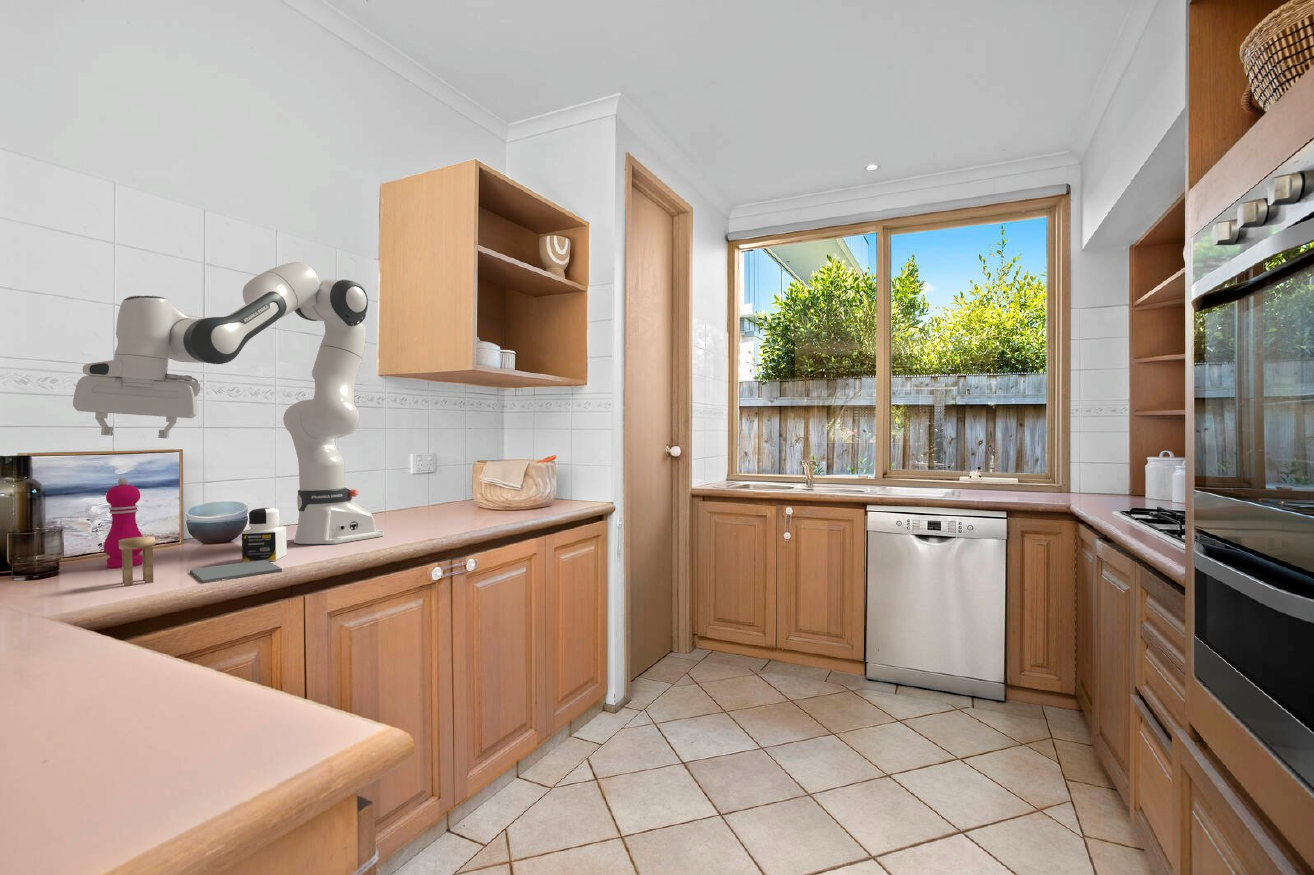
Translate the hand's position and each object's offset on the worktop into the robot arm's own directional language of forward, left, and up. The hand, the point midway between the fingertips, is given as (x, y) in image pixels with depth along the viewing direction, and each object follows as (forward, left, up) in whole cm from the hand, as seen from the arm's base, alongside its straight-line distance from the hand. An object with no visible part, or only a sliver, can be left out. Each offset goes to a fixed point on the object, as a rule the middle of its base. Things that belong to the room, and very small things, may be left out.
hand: (135, 436), depth 132 cm
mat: (-15, +11, -29) cm, 35 cm away
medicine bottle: (-23, 0, -30) cm, 38 cm away
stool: (+1, +7, -29) cm, 30 cm away
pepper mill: (+1, -17, -30) cm, 34 cm away
